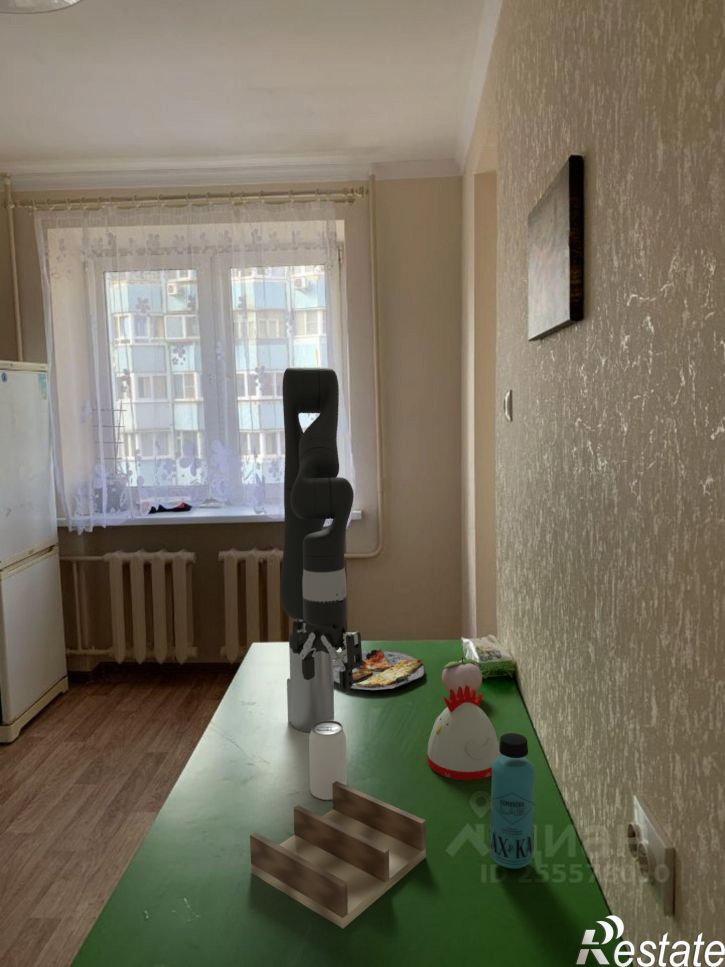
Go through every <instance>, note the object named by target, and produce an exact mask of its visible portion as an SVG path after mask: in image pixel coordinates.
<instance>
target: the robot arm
mask: <svg viewBox="0 0 725 967" xmlns="http://www.w3.org/2000/svg"><path fill="white" fill-rule="evenodd" d="M281 390H282V391H281V392H282V408H283V409H282V411H283V427H284V428H283V430H284V471H283V472H284V473H283V474H284V477H283V507H284V508H283V510H284V519H283V520H284V527H283V550H282V552H283V553H282V562H281V564H282V565H281V572H280V573H281V574H280V584H279V596H280V597H279V598H280V603H281V606H282V609H283V610H284V612H285V614H286V615H287V616H289V618H292V619H293V620H295V621H292V629H291V630H290V633H289V636H288V648H289V649H288V652H289V656H288V657H289V677H288V678H287V679H286V695H287V696H286V697H287V722H289V723H290V724H291V726H292V727H293V728H294V729H296V730H298V731H302V732H309V733H311V731H312V730H311V727H312V725H313V724H315V723H316V722H319V721H324V720H333V721H335V696H334V695H335V694H334V693H335V692H334V689H335V688H334V682H335V681H334V679H333V660H334V661H336V662H337V664H338V666H339V668H340V669H341V670H340V671H339V678H340V684H339V691H340V692H341V693H346V692H347V691H350V690H351V689H352V688H351V687H352V685H354V684H353V679H352V678H353V671H354V670H355V669H356V668H357V667H360V666H362V664H363V663H362V652H363V650H362V648H363V647H362V637H361V636H362V635H361V632H360V631H354V632H348V631H347V629H346V625H345V624H346V621H347V619H348V601H347V600H348V597H347V595H348V593H347V592H348V591H347V575H346V570H345V541H346V540H345V538H346V532H347V528H348V527H347V526H348V522H349V519H350V514H351V512H352V508H353V503H354V497H355V495H354V489H353V486H352V484H351V483H350V481H349V480H348V479H347V478H345V477H341V476H338V475H339V473H340V461H339V452H338V450H339V449H338V443H337V442H338V441H337V440H338V424H339V406H340V404H339V400H340V397H339V395H340V393H339V392H340V388H339V380H338V376H337V373H336V371H335V370H334V369H332V368H330V367H323V366H318V367H317V366H288V367H287V368H286V369H285V370H284V373H283V375H282V389H281ZM300 414H319V415H318V416H317V417H316V418H315V419H314V420H313V421H312V422H311V423H310V424H309V425H308V427H306V429H305V430H304V431H303V429H302V425H301V422H300V417H299V415H300ZM330 519H331V520H332V521H331V523H330V525H329V526H328V527H327V528H325V529H323V528H324V525H325V523H326V521H327V520H330ZM339 649H341V651H339V652H338V650H339ZM354 656H355V658H354ZM342 657H343V658H344V659H345V661H346V663H345V662H344V660H343V658H342Z"/></svg>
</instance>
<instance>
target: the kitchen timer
mask: <svg viewBox="0 0 725 967" xmlns="http://www.w3.org/2000/svg"><path fill="white" fill-rule="evenodd" d="M476 695H477V692H476V690H475V689H472V691H471V693H470V689H469V686H467V685H465V690H464V695H463V690H462V687H460V686H459V688H458V693H457V697H456V696H455V693H454V691H453V690H452V689H450V693H449V699H448V698H447V697H445V696H443V702H444V703H445V705H446V708H444V710H443V711H442V712H441V713H440V714H439V715H438V716H437V717H436V718H435V720H434V722H433V723H434V724H433V727H432V730H431V733H430V736H429V739H428V743H427V751H426V752H427V753H426V761H427V763H428V766H429V768H430V769H432V771H434V773H437V774H439V775H440V776H443V777H447V778H449V779H453V780H459V779H461V781H472V780H471V779H477V780H481V778H483V779H485V778H488V777H490V776H491V777H492V763H493V761H494V760H495V759H496V758H498V757H499V756H501V753H500V751H499V746H500V742H499V740H498V736H497V734H496V730H495V728H494V726H493V724H492V722H491V720H490V718H489V716H487V714H486V712H484V710H483V709H482V708H481V707H480V705H481V702H482V700H483V694H482V693H481V692H480V693H478V695H477V697H476Z"/></svg>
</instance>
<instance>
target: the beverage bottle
mask: <svg viewBox="0 0 725 967" xmlns="http://www.w3.org/2000/svg"><path fill="white" fill-rule="evenodd" d="M499 739H500V741H499V751H500V756H499V757H498V758H496V759H495V760H494V761H493V763H492V775H491V787H490V788H491V792H490V794H491V795H490V800H489V802H490V811H489V814H490V815H489V827H488V833H489V844H488V846H489V847H488V851H489V853H490V856H491V859H492V860H493V861H494V862H495V863H496V864H498V865H499V866H502V867H504V868H507V869H521V868H525V867H526V866H528V865H529V864H530V863H531V861H532V859H533V856H534V854H533V853H535V852H534V849H535V848H534V846H535V845H534V843H535V839H534V838H535V826H534V825H535V815H536V814H535V812H534V811H535V810H534V809H535V806H536V804H535V801H534V800H535V799H534V798H535V775H536V774H535V773H536V768H535V766H534V764H533V763H532V762H531V761H530V760H529V759H528V758H527V756H528V754H529V746H528V739H527V737H525V736H524V735H523V734H520V733H515V732H510V733H505V734H502V735H501V737H500V738H499Z"/></svg>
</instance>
